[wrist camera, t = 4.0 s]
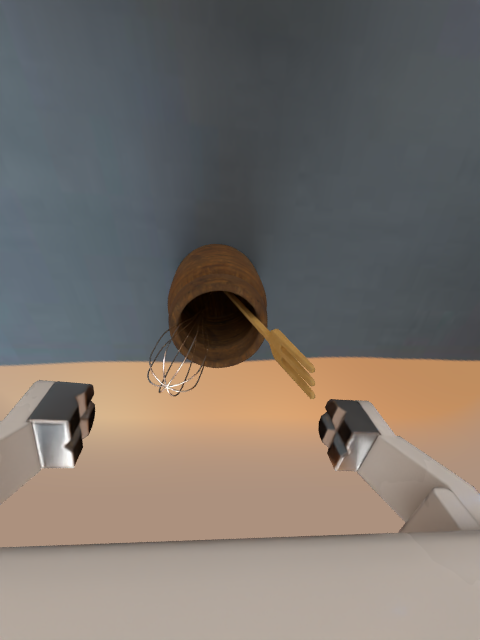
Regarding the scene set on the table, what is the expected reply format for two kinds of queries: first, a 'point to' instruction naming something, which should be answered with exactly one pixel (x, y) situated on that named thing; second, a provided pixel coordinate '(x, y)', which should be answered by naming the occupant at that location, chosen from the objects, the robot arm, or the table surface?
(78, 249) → the table surface
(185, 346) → the utensil holder
